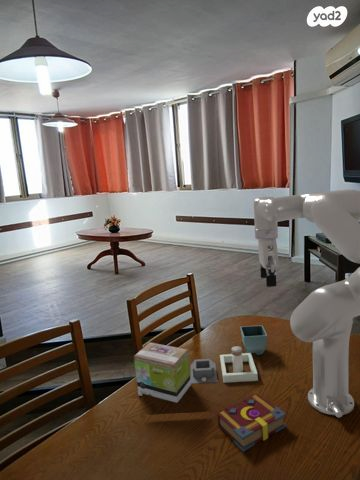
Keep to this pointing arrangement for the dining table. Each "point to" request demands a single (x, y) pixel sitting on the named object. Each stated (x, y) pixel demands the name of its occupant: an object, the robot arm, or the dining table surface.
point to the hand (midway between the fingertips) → (268, 281)
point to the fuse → (237, 359)
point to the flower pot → (254, 339)
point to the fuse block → (203, 371)
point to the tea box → (162, 371)
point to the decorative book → (251, 421)
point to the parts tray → (242, 375)
